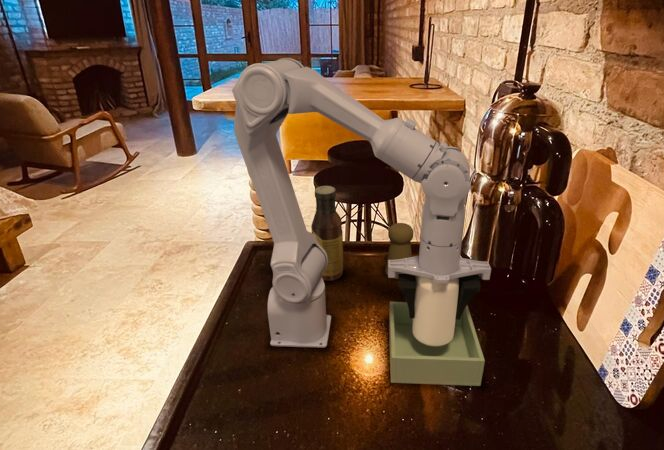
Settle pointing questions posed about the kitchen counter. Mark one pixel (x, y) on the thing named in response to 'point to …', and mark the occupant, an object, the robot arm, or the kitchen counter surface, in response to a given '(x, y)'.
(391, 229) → the olive game pawn
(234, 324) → the kitchen counter surface
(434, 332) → the can
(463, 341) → the bin
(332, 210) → the sauce bottle
